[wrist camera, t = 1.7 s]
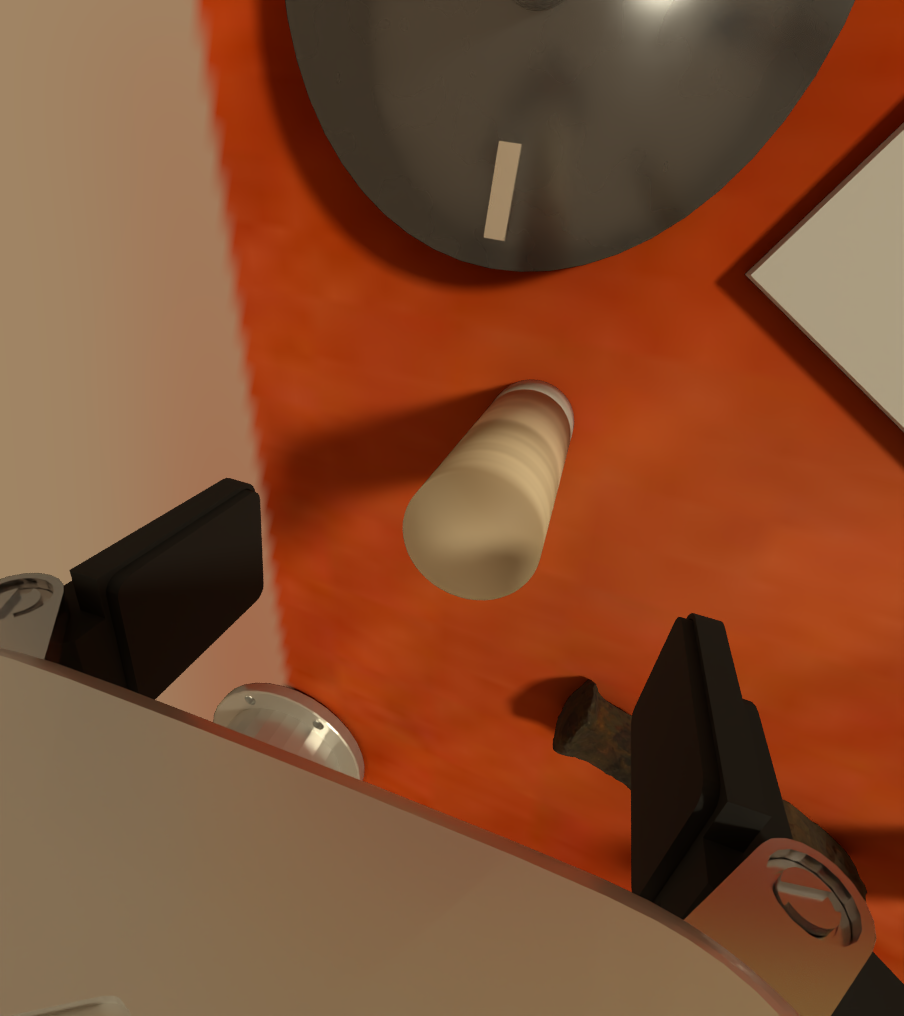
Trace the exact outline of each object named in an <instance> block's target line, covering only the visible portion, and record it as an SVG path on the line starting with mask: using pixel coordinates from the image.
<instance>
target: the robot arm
mask: <svg viewBox="0 0 904 1016" xmlns="http://www.w3.org/2000/svg"><path fill="white" fill-rule="evenodd" d="M70 573H71V577H72V581H71V582H69V583H68V584H66V585H63V583H62V582H61V581H60V580H59V579H58V578H56V577H54V576H52V575H48V574H42V573H25V574H19V575H13V576H8V577H5V578H2V579H0V1016H904V984H903V983H902V982H901V981H900V980H899V979H898V978H897V977H896V976H895V975H894V974H893V973H892V971H891V970H890V969H889V968H888V967H887V966H886V965H885V964H884V963H883V962H882V961H881V960H880V959H879V958H878V957H877V956H876V955H875V953H874V952H873V948H874V944H875V941H876V934H875V927H874V921H873V918H872V916H871V914H870V911H869V909H868V907H867V904H866V902H865V900H864V899H863V897H862V896H861V894H860V893H859V891H858V890H857V888H856V887H855V886H854V884H853V883H852V882H851V880H850V879H849V878H848V877H847V876H846V875H845V874H844V873H843V872H842V871H841V870H840V869H839V868H838V867H837V866H836V865H835V864H834V863H833V862H831V861H830V860H829V859H827V858H826V857H825V856H824V855H822V854H821V853H820V852H818V851H816V850H815V849H813V848H811V847H809V846H807V845H805V844H803V843H801V842H798V841H794V840H793V837H792V833H791V830H790V826H789V822H788V819H787V815H786V812H785V808H784V804H783V801H782V797H781V793H780V790H779V786H778V782H777V779H776V775H775V771H774V768H773V764H772V760H771V757H770V753H769V749H768V746H767V742H766V739H765V735H764V731H763V728H762V724H761V720H760V717H759V713H758V711H757V708H756V706H755V705H754V704H753V703H752V702H751V701H748V700H745V699H742V695H741V691H740V687H739V683H738V679H737V675H736V671H735V667H734V663H733V659H732V655H731V651H730V647H729V643H728V639H727V635H726V631H725V627H724V624H723V622H721V621H718V620H715V619H711V618H708V617H704V616H701V615H698V614H694V613H691V614H689V616H688V617H687V619H685V618H682V617H678V618H677V619H676V621H675V623H674V625H673V627H672V629H671V631H670V633H669V635H668V637H667V640H666V642H665V644H664V646H663V648H662V650H661V652H660V655H659V657H658V659H657V661H656V663H655V665H654V667H653V670H652V672H651V674H650V676H649V678H648V680H647V682H646V684H645V687H644V689H643V691H642V693H641V695H640V697H639V699H638V702H637V704H636V706H635V708H634V711H633V715H632V719H631V885H632V892H630V891H628V890H625V889H623V888H621V887H619V886H617V885H615V884H613V883H611V882H608V881H606V880H604V879H602V878H600V877H598V876H595V875H593V874H591V873H588V872H586V871H583V870H581V869H579V868H576V867H574V866H571V865H569V864H567V863H564V862H562V861H559V860H557V859H555V858H552V857H550V856H548V855H545V854H543V853H540V852H538V851H536V850H533V849H531V848H528V847H526V846H524V845H521V844H519V843H516V842H514V841H512V840H509V839H507V838H504V837H502V836H499V835H497V834H494V833H492V832H489V831H487V830H484V829H482V828H479V827H477V826H474V825H472V824H469V823H467V822H464V821H462V820H459V819H457V818H454V817H452V816H449V815H447V814H444V813H442V812H439V811H437V810H434V809H432V808H429V807H427V806H424V805H422V804H419V803H417V802H414V801H412V800H409V799H407V798H404V797H402V796H399V795H397V794H394V793H392V792H389V791H387V790H384V789H382V788H379V787H377V786H374V785H372V784H369V783H367V782H364V781H362V780H363V777H364V762H363V757H362V754H361V751H360V749H359V747H358V744H357V742H356V740H355V739H354V737H353V736H352V734H351V733H350V731H349V730H348V729H347V728H346V726H345V725H344V724H343V723H342V722H341V721H340V720H339V718H337V717H336V716H335V715H334V714H333V713H332V712H331V711H329V710H328V709H327V708H326V707H324V706H323V705H321V704H320V703H318V702H317V701H315V700H314V699H312V698H310V697H308V696H306V695H305V694H303V693H301V692H299V691H296V690H293V689H290V688H287V687H285V686H280V685H275V684H270V683H252V684H246V685H242V686H240V687H238V688H235V689H234V690H233V691H231V692H230V693H229V694H228V695H227V696H226V697H225V698H224V699H223V701H222V702H221V703H220V704H219V705H218V706H217V709H216V711H215V714H214V721H213V722H211V721H208V720H206V719H203V718H200V717H198V716H195V715H193V714H190V713H187V712H185V711H182V710H179V709H177V708H175V707H172V706H169V705H167V704H164V703H162V702H159V701H156V700H155V699H156V698H157V697H158V696H159V695H160V694H161V693H162V692H163V691H164V690H165V689H166V688H167V687H168V686H169V685H170V684H171V683H172V682H174V681H175V680H176V678H178V677H179V676H180V675H181V674H182V673H183V672H184V671H185V670H186V669H187V668H188V667H189V666H190V665H191V664H192V663H193V662H194V661H195V660H196V659H197V658H198V657H199V656H200V655H201V654H202V653H203V652H204V651H205V650H206V649H207V648H209V646H210V645H212V644H213V643H214V642H215V641H216V640H217V639H218V638H219V637H220V636H221V635H222V634H223V633H224V632H225V631H226V630H227V629H228V628H229V627H230V626H231V625H232V624H233V623H234V622H235V621H236V620H237V619H238V618H239V617H240V616H241V615H242V614H243V613H245V612H246V610H248V609H249V608H250V607H251V606H252V605H253V604H254V603H255V602H256V601H257V599H258V598H259V597H260V595H261V593H262V590H263V561H262V537H261V513H260V497H259V495H258V493H256V492H255V489H254V488H253V486H252V485H251V484H248V483H244V482H241V481H237V480H234V479H231V478H225V479H223V480H221V481H219V482H218V483H216V484H214V485H213V486H211V487H209V488H208V489H206V490H205V491H202V492H201V493H199V494H197V495H196V496H194V497H192V498H191V499H189V500H187V501H186V502H184V503H182V504H181V505H179V506H177V507H175V508H174V509H172V510H170V511H169V512H167V513H165V514H164V515H162V516H160V517H159V518H157V519H155V520H153V521H152V522H150V523H149V524H147V525H145V526H144V527H142V528H140V529H138V530H137V531H135V532H133V533H132V534H130V535H128V536H126V537H125V538H123V539H122V540H120V541H118V542H117V543H115V544H113V545H111V546H110V547H108V548H106V549H105V550H103V551H101V552H100V553H98V554H96V555H94V556H93V557H91V558H89V559H88V560H86V561H85V562H83V563H81V564H79V565H78V566H76V567H74V568H72V569H71V570H70Z"/></svg>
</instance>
